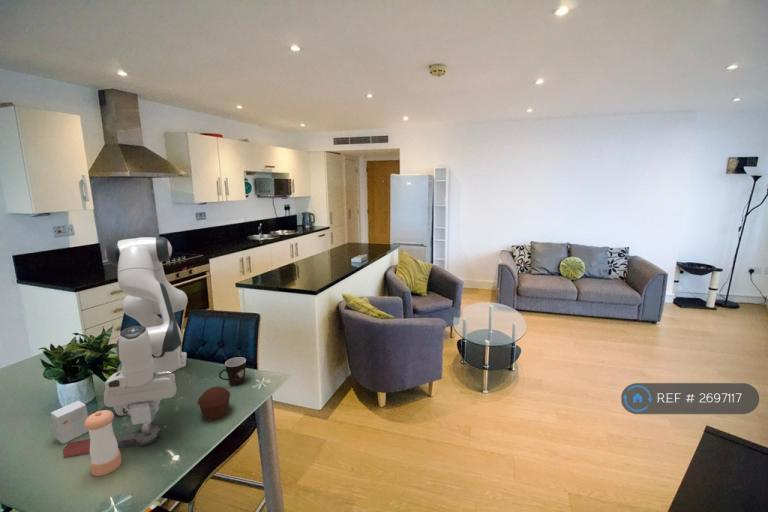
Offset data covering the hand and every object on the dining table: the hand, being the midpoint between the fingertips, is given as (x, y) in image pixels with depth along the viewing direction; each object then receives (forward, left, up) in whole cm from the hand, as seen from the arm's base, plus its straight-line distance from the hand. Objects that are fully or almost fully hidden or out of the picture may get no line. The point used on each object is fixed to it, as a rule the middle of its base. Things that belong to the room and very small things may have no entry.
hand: (144, 412), depth 116 cm
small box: (-10, -26, -11) cm, 30 cm away
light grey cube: (0, 0, -2) cm, 2 cm away
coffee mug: (-30, +24, -11) cm, 40 cm away
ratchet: (0, -10, -11) cm, 15 cm away
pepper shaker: (+10, -8, -11) cm, 17 cm away
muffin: (-9, +20, -11) cm, 25 cm away
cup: (-20, -14, -11) cm, 27 cm away
